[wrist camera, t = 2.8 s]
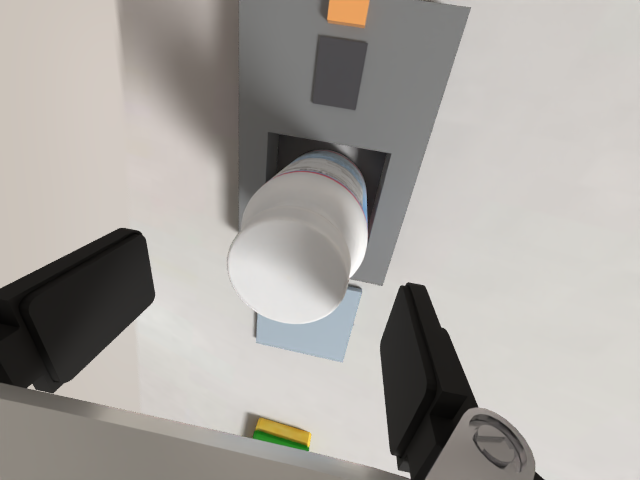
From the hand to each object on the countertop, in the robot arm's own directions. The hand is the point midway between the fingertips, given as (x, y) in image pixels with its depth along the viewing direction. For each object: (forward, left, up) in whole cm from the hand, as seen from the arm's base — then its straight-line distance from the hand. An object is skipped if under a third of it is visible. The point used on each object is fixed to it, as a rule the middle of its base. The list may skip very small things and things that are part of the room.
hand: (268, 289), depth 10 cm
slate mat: (+12, +1, -11) cm, 17 cm away
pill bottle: (0, +1, -12) cm, 12 cm away
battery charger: (-6, +1, -11) cm, 13 cm away
